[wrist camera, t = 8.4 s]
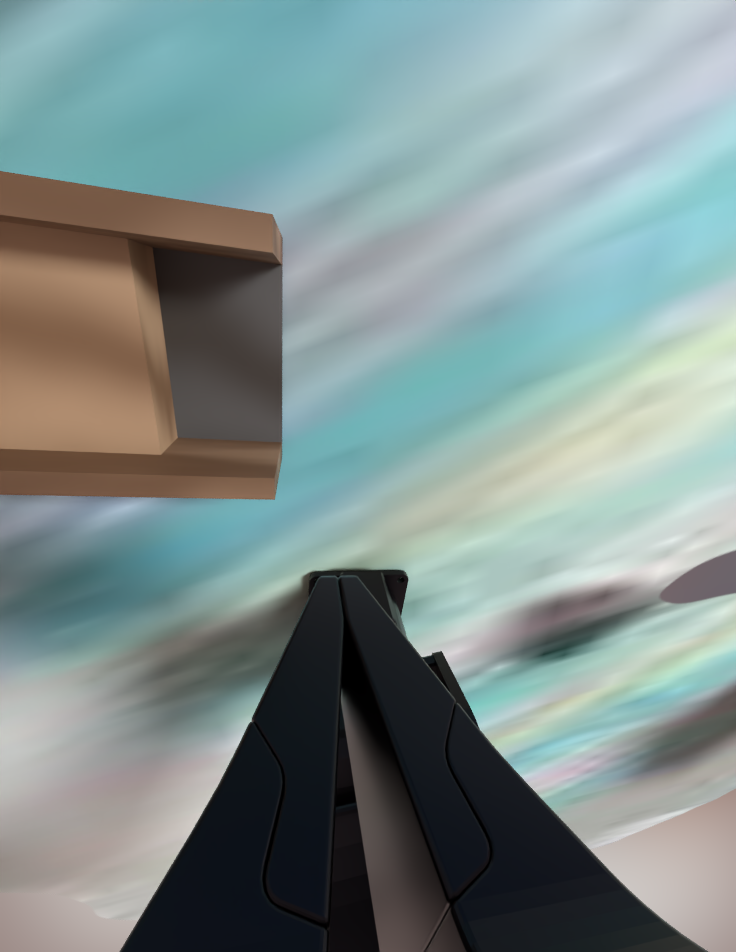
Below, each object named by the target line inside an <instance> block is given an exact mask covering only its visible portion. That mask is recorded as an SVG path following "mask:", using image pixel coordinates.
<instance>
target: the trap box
mask: <svg viewBox="0 0 736 952" xmlns="http://www.w3.org/2000/svg"><path fill="white" fill-rule="evenodd" d="M281 460H282V236H281V233H280V231H279V229H278V226H277V224H276V222H275V219H274V217H273V215H272V214H266V213H260V212H254V211H248V210H241V209H235V208H229V207H222V206H216V205H210V204H204V203H197V202H191V201H185V200H179V199H172V198H166V197H160V196H153V195H147V194H141V193H135V192H128V191H122V190H116V189H109V188H103V187H97V186H91V185H84V184H78V183H72V182H65V181H59V180H53V179H47V178H40V177H34V176H28V175H21V174H15V173H9V172H3V171H0V494H1V495H56V496H110V497H165V498H219V499H274V500H275V495H276V489H277V483H278V478H279V472H280V466H281Z"/></svg>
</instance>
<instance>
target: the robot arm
mask: <svg viewBox="0 0 736 952" xmlns="http://www.w3.org/2000/svg"><path fill="white" fill-rule="evenodd" d="M400 577H403V578H401V579H398V578H400ZM316 579H318V580H317V581H315V580H316ZM407 584H408V576H407V574H406V572H405V571H402V570H390V571H334V572H314V573H312V574H311V575H310V578H309V598H308V601H307V603H306V605H305V607H304V609H303V611H302V614H301V616H300V618H299V620H298V622H297V624H296V626H295V628H294V630H293V633H292V635H291V637H290V639H289V641H288V643H287V645H286V647H285V649H284V651H283V654H282V656H281V658H280V660H279V662H278V664H277V666H276V668H275V670H274V672H273V675H272V677H271V679H270V681H269V683H268V685H267V687H266V689H265V691H264V694H263V696H262V698H261V700H260V702H259V704H258V706H257V708H256V710H255V712H254V715H253V717H252V722H250V723H249V725H248V727H247V729H246V731H245V733H244V735H243V737H242V739H241V741H240V743H239V745H238V748H237V749H236V751H235V753H234V755H233V757H232V759H231V761H230V763H229V765H228V767H227V769H226V771H225V773H224V775H223V777H222V779H221V781H220V783H219V785H218V787H217V788H216V790H215V792H214V794H213V795H212V797H211V799H210V801H209V802H208V804H207V806H206V808H205V809H204V811H203V813H202V815H201V816H200V818H199V820H198V822H197V823H196V825H195V827H194V829H193V830H192V832H191V834H190V835H189V837H188V839H187V840H186V842H185V844H184V845H183V847H182V849H181V850H180V852H179V854H178V855H177V857H176V859H175V860H174V862H173V864H172V865H171V867H170V869H169V870H168V872H167V874H166V875H165V877H164V879H163V880H162V882H161V884H160V885H159V887H158V889H157V890H156V892H155V894H154V895H153V897H152V899H151V900H150V902H149V904H148V905H147V907H146V909H145V910H144V912H143V914H142V915H141V917H140V919H139V920H138V922H137V924H136V925H135V927H134V929H133V930H132V932H131V934H130V935H129V937H128V938H127V940H126V942H125V944H124V945H123V947H122V948H121V950H120V952H708V951H707V950H705V949H704V948H702V947H700V946H699V945H697V944H696V943H694V942H693V941H691V940H690V939H689V938H687V937H686V936H684V935H683V934H681V933H680V932H679V931H677V930H676V929H675V928H673V927H672V926H671V925H669V924H668V923H667V922H665V921H664V920H663V919H662V918H660V917H659V916H658V915H657V914H656V913H654V912H653V911H652V910H651V909H650V908H648V907H647V906H646V905H645V904H644V903H643V902H642V901H640V900H639V899H638V898H637V897H636V896H635V895H634V894H633V893H632V892H631V891H629V890H628V889H627V888H626V887H625V886H624V885H623V884H622V883H621V882H620V881H619V880H618V879H617V878H616V877H615V876H614V875H613V874H612V873H611V872H610V871H609V870H608V868H607V867H606V866H605V865H604V864H603V863H602V862H601V861H600V860H599V859H598V858H597V857H596V856H595V855H594V854H593V853H592V852H591V850H590V849H589V848H588V847H587V846H586V845H585V844H584V843H583V842H582V841H581V840H580V839H579V838H578V837H577V836H576V835H575V834H574V833H573V831H572V830H571V829H570V828H569V827H568V826H567V825H566V824H565V823H564V822H563V821H562V820H561V819H560V818H559V817H558V816H557V815H556V814H555V812H554V811H553V810H552V809H551V808H550V807H549V806H548V805H547V804H546V803H545V802H544V801H543V800H542V799H541V798H540V797H539V796H538V795H537V793H536V792H535V791H534V790H533V789H532V788H531V787H530V786H529V785H528V784H527V783H526V782H525V781H524V780H523V778H522V777H521V776H520V775H519V774H518V773H517V772H516V771H515V770H514V769H513V768H512V766H511V765H510V764H509V763H508V762H507V761H506V760H505V759H504V758H503V757H502V755H501V754H500V753H499V752H498V751H497V750H496V749H495V747H494V746H493V745H492V744H491V743H490V741H489V740H488V739H487V738H486V737H485V735H484V734H483V733H482V732H481V731H480V729H479V727H478V724H477V722H476V719H475V717H474V714H473V712H472V710H471V708H470V706H469V704H468V702H467V700H466V698H465V696H464V694H463V692H462V690H461V688H460V686H459V684H458V682H457V680H456V678H455V676H454V674H453V672H452V670H451V669H450V667H449V665H448V663H447V661H446V659H445V657H444V655H443V653H442V651H440V652H436V653H432V655H431V656H426V657H421V656H420V654H419V653H418V652H417V651H416V649H415V648H414V647H413V646H412V644H411V643H410V642H409V641H408V639H407V636H406V633H405V629H404V626H403V622H402V619H401V613H402V608H403V603H404V598H405V593H406V588H407Z"/></svg>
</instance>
